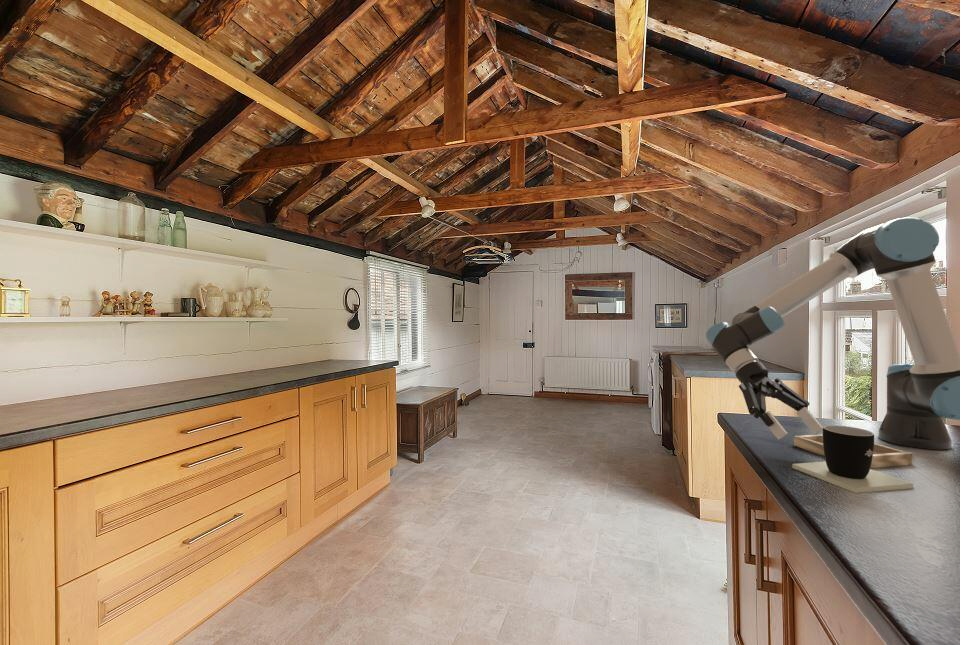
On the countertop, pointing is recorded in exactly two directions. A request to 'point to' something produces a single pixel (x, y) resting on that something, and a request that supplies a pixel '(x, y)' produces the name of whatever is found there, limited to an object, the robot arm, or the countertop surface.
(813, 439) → the rectangular wooden frame
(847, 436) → the mug
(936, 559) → the countertop surface
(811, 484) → the countertop surface
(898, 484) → the tile
